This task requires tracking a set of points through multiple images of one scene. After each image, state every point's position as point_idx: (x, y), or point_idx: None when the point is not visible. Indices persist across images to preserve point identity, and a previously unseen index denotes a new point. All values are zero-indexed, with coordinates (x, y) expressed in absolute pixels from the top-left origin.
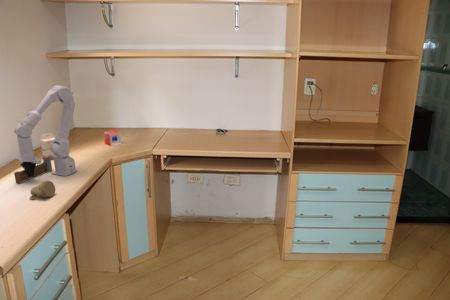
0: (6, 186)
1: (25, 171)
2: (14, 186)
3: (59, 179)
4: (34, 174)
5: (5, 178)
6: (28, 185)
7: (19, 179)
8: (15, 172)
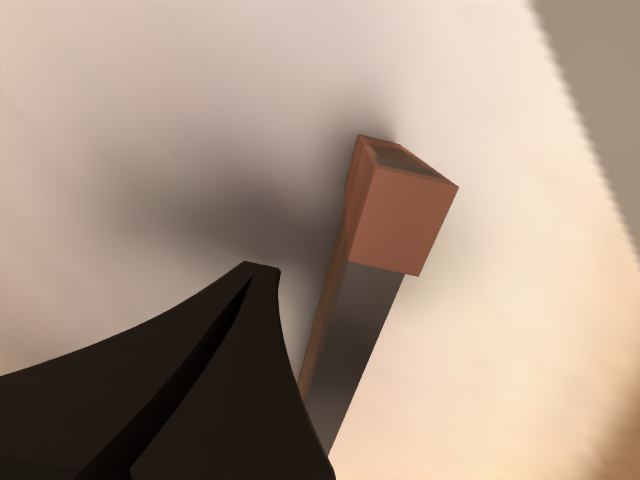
0: (492, 9)
1: (322, 341)
2: (357, 34)
3: (38, 305)
4: (307, 359)
5: (635, 288)
6: (187, 109)
7: (352, 176)
8: (426, 207)
